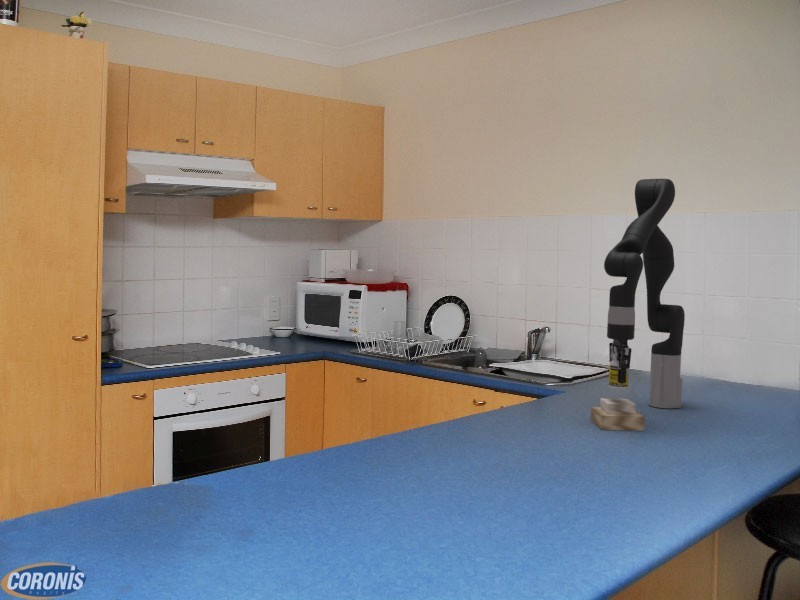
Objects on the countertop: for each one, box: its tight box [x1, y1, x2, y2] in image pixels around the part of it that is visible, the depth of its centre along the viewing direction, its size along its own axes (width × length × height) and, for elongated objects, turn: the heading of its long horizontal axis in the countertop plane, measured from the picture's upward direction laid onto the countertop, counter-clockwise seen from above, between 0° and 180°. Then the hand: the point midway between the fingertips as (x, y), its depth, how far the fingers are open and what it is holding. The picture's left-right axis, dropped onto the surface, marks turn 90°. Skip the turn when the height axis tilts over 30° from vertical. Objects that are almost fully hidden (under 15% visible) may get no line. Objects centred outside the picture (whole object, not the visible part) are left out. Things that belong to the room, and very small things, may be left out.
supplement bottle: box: [608, 353, 630, 390], centre depth 224 cm, size 5×5×10 cm
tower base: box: [590, 397, 646, 432], centre depth 224 cm, size 12×12×7 cm
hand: (618, 380), depth 224 cm, fingers closed on supplement bottle, 5 cm apart
